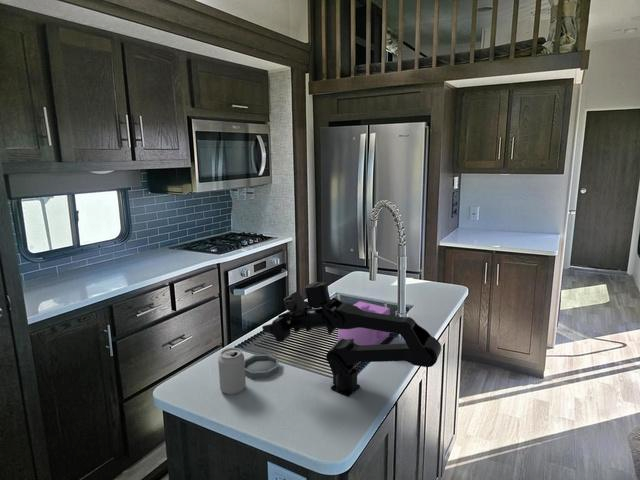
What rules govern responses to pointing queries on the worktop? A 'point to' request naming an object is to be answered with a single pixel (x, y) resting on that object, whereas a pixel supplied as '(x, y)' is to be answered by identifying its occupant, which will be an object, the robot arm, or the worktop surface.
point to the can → (231, 371)
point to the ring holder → (261, 366)
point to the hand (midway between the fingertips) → (270, 322)
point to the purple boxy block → (363, 334)
